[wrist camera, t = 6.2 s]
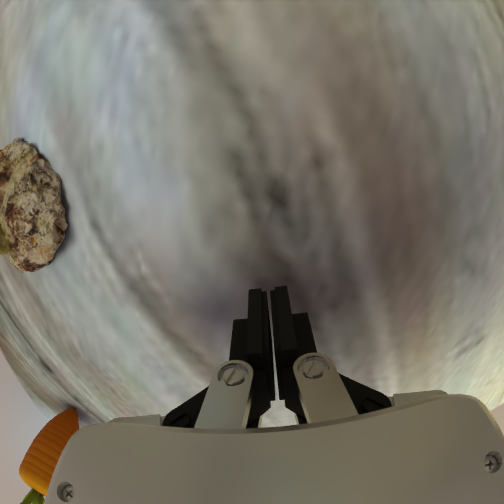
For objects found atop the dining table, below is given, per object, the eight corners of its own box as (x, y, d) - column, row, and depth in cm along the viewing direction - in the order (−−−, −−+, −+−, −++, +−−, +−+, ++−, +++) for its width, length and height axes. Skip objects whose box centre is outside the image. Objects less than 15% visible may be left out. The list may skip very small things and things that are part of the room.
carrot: (55, 387, 19) (1, 502, 5) (98, 413, 20) (55, 535, 6) (54, 403, 21) (9, 503, 7) (91, 426, 22) (55, 531, 8)
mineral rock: (49, 127, 8) (35, 308, 9) (97, 144, 13) (81, 285, 14) (-43, 142, 8) (-51, 262, 9) (-3, 149, 12) (-13, 253, 13)
